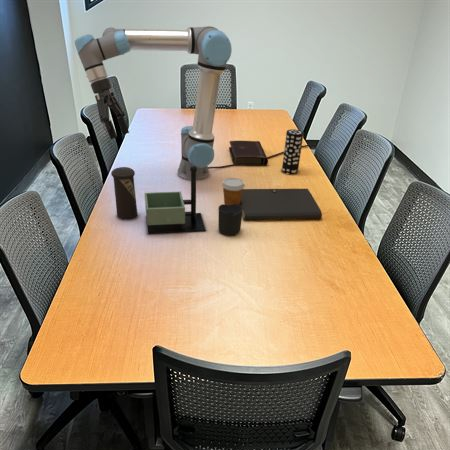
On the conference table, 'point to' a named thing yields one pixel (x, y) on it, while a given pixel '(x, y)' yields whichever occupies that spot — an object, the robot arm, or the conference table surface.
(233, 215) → the pen holder
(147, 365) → the conference table surface
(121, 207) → the container
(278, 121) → the conference table surface
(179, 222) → the green box on stand
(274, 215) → the file folder
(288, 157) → the white-spotted black cylinder
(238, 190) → the disposable coffee cup
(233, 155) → the diary
